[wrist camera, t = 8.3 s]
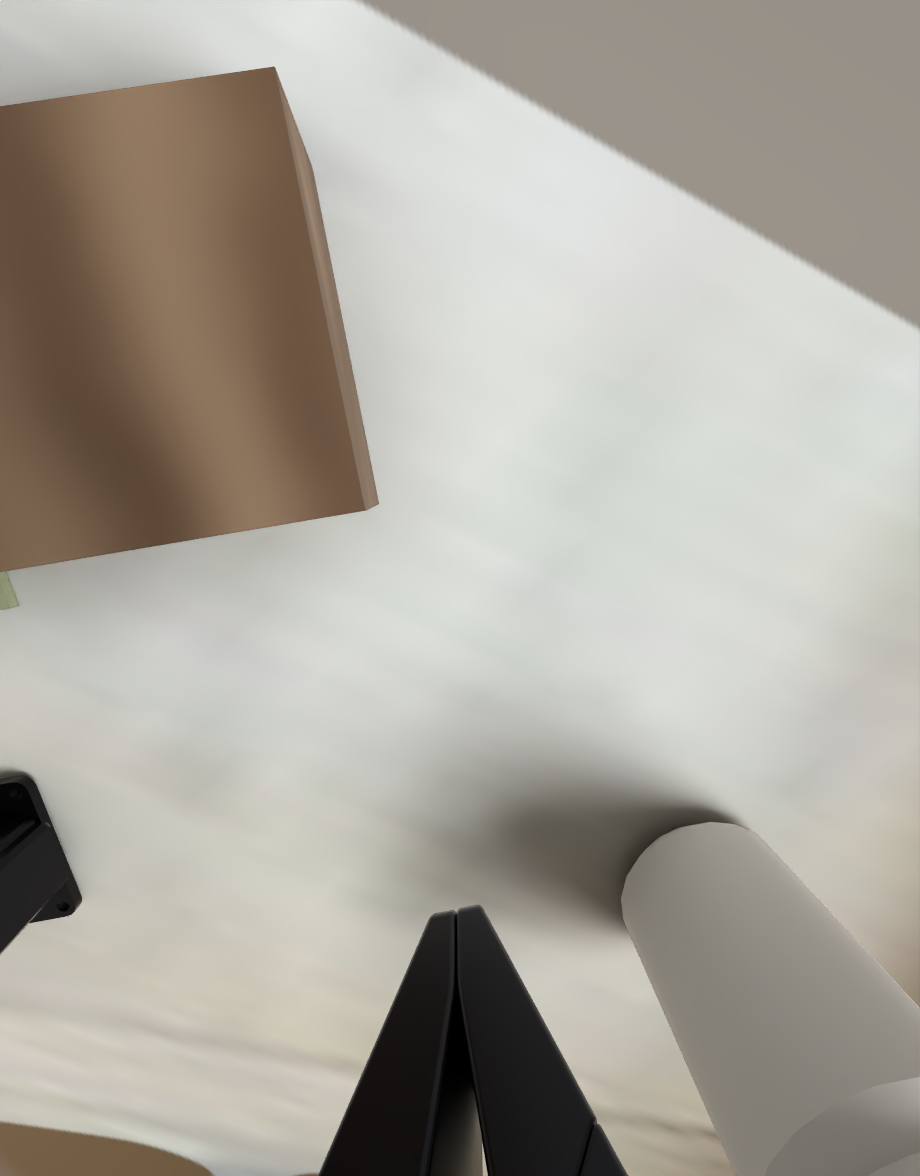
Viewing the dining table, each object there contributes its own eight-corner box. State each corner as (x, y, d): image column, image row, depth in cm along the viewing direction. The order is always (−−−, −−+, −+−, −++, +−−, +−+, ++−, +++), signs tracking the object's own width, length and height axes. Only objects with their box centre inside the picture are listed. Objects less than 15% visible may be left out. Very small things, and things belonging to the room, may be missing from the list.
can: (664, 968, 24) (884, 1424, 13) (583, 869, 23) (747, 1285, 11) (795, 887, 24) (1152, 1286, 12) (720, 778, 22) (1048, 1116, 10)
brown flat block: (4, 566, 18) (-112, 591, 14) (-123, 232, 16) (-306, 150, 12) (378, 504, 18) (365, 510, 15) (311, 166, 16) (274, 66, 12)
